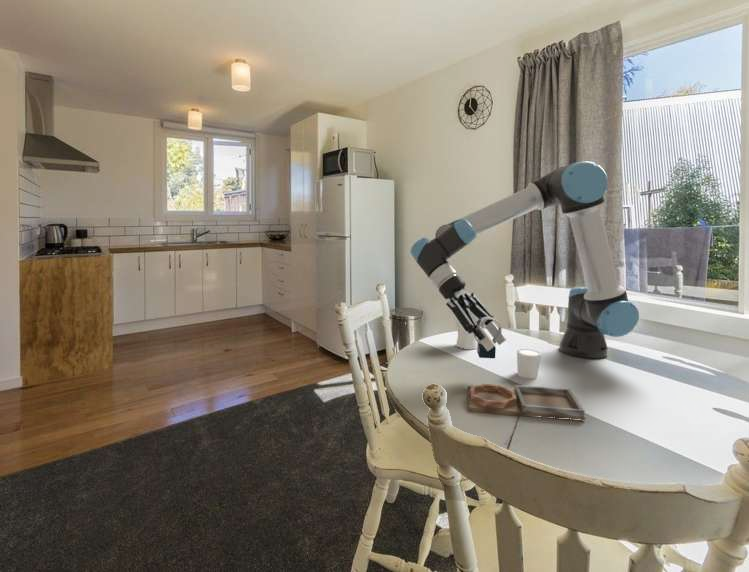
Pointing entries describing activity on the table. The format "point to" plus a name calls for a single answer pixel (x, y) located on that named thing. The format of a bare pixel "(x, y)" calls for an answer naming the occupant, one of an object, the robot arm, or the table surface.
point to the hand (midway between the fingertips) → (497, 345)
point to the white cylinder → (528, 363)
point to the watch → (491, 353)
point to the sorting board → (524, 401)
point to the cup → (465, 335)
